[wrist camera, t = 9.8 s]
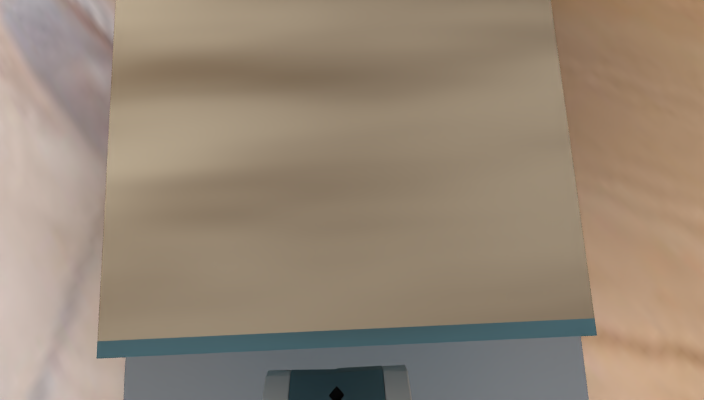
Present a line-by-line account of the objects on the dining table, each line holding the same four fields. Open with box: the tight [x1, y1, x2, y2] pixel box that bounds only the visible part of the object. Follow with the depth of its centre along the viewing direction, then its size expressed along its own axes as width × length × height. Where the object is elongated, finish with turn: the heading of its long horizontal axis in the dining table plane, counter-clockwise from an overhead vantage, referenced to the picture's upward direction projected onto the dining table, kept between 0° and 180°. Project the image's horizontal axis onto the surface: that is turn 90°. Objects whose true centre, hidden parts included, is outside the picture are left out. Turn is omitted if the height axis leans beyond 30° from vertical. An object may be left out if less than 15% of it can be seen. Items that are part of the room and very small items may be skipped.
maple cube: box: [97, 0, 597, 358], centre depth 14 cm, size 9×9×9 cm
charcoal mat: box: [124, 336, 589, 400], centre depth 19 cm, size 32×16×1 cm, turn 2°
